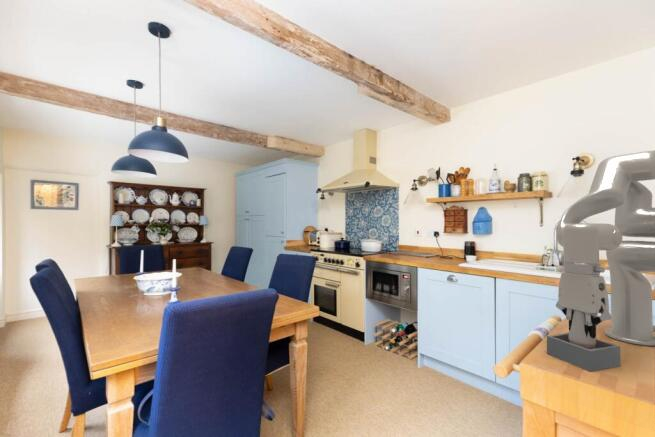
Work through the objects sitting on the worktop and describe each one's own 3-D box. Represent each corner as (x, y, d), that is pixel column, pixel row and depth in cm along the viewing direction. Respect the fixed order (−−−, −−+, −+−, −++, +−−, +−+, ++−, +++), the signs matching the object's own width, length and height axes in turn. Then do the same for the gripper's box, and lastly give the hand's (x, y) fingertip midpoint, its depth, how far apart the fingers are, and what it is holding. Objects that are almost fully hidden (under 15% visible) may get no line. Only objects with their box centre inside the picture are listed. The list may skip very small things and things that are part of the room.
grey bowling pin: (601, 354, 78) (600, 303, 79) (576, 352, 80) (575, 302, 80) (587, 345, 84) (586, 298, 85) (563, 343, 85) (563, 297, 86)
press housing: (574, 349, 89) (574, 332, 89) (620, 365, 78) (620, 346, 78) (546, 353, 85) (546, 335, 85) (591, 371, 75) (590, 351, 75)
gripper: (627, 273, 76) (628, 347, 75) (559, 265, 91) (560, 326, 91) (607, 274, 74) (608, 350, 73) (541, 265, 89) (542, 329, 89)
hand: (582, 336), depth 82 cm, fingers closed on grey bowling pin, 3 cm apart
